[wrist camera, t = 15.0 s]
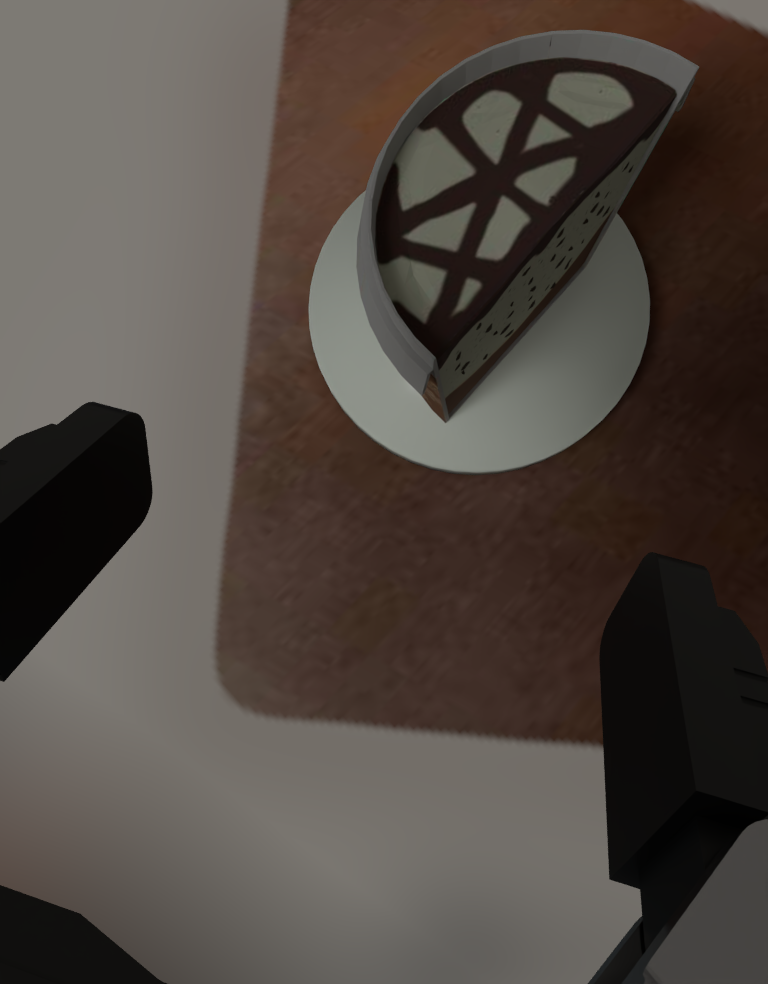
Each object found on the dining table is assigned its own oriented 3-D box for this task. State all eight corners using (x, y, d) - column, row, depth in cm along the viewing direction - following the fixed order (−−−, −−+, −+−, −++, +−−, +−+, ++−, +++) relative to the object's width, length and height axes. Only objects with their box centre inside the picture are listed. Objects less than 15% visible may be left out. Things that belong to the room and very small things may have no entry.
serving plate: (672, 201, 28) (682, 185, 27) (598, 512, 27) (606, 510, 26) (362, 137, 30) (359, 119, 29) (274, 428, 28) (267, 422, 27)
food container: (501, 161, 28) (541, -63, 18) (608, 242, 27) (712, 52, 17) (319, 359, 27) (258, 238, 17) (423, 448, 27) (421, 374, 17)
